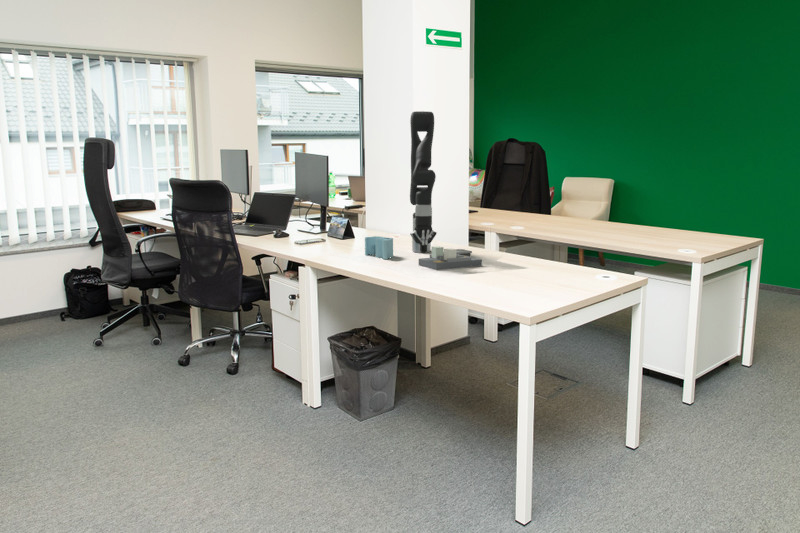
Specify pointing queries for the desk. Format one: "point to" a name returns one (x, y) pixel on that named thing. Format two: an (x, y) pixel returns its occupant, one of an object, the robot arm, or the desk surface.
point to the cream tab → (449, 253)
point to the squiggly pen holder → (379, 246)
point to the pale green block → (437, 251)
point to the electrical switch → (463, 252)
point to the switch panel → (450, 262)
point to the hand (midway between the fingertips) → (423, 252)
